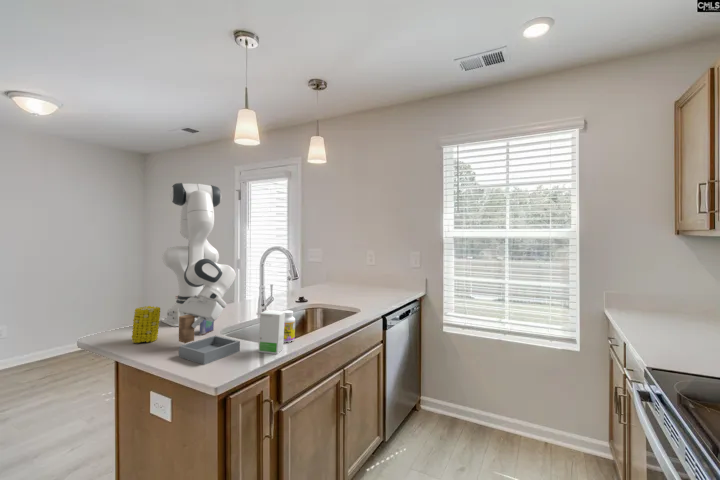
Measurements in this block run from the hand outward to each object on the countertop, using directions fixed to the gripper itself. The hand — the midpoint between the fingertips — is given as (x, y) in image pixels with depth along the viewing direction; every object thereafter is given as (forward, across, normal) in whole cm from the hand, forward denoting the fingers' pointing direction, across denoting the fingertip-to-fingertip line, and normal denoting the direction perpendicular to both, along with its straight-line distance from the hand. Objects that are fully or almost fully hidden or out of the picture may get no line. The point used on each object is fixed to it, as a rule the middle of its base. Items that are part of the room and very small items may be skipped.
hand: (187, 326), depth 136 cm
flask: (-6, -10, +19) cm, 22 cm away
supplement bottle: (-13, +29, +25) cm, 40 cm away
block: (+4, 0, +4) cm, 6 cm away
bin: (+6, +14, +5) cm, 17 cm away
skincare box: (-4, +32, +16) cm, 36 cm away
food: (+9, -22, +4) cm, 24 cm away
